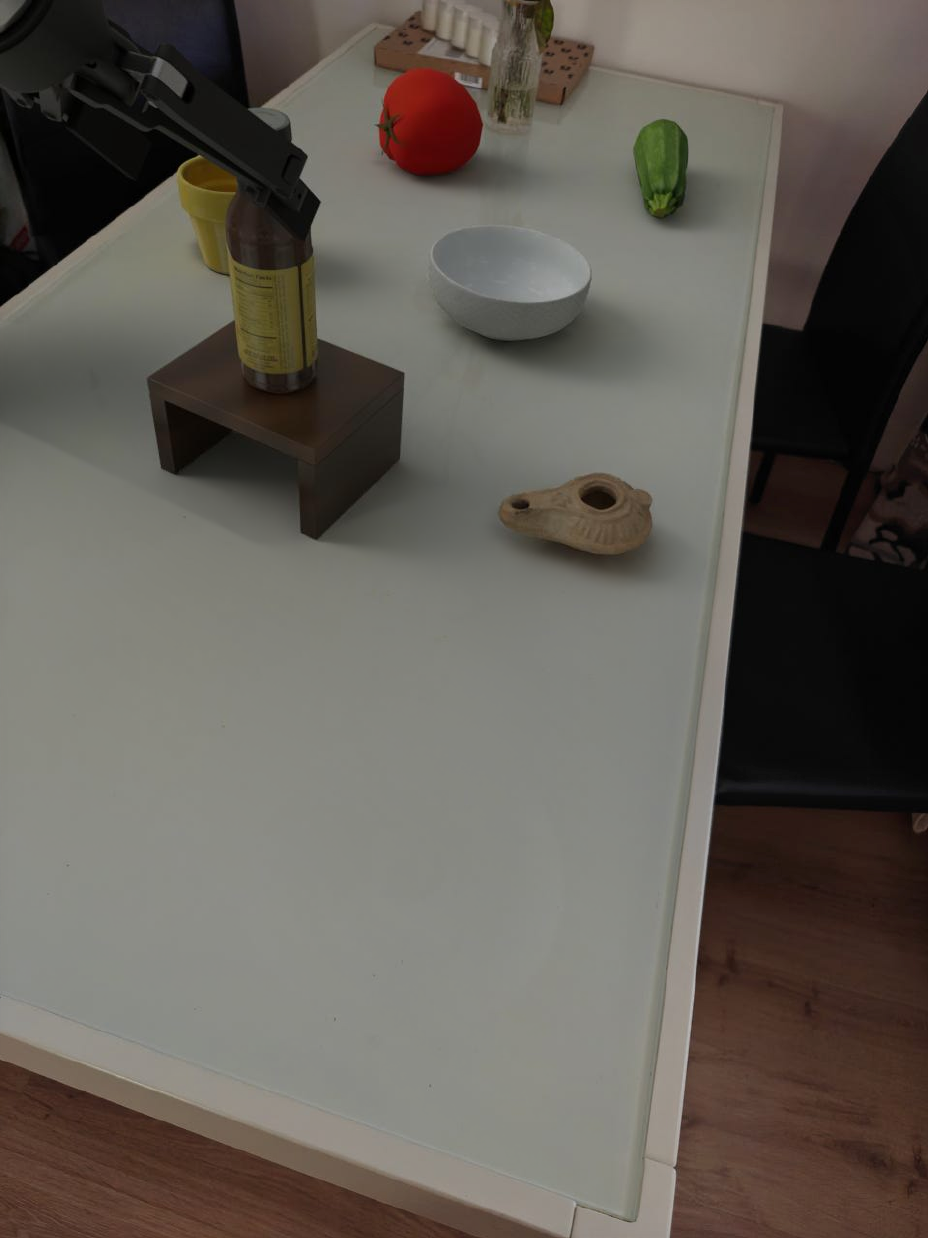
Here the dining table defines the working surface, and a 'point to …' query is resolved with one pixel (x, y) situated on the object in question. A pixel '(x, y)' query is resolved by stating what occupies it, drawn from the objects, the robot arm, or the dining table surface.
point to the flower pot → (207, 207)
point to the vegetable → (662, 166)
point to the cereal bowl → (508, 281)
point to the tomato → (429, 123)
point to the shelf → (285, 420)
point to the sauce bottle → (271, 289)
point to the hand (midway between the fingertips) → (221, 189)
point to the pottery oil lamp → (583, 514)
